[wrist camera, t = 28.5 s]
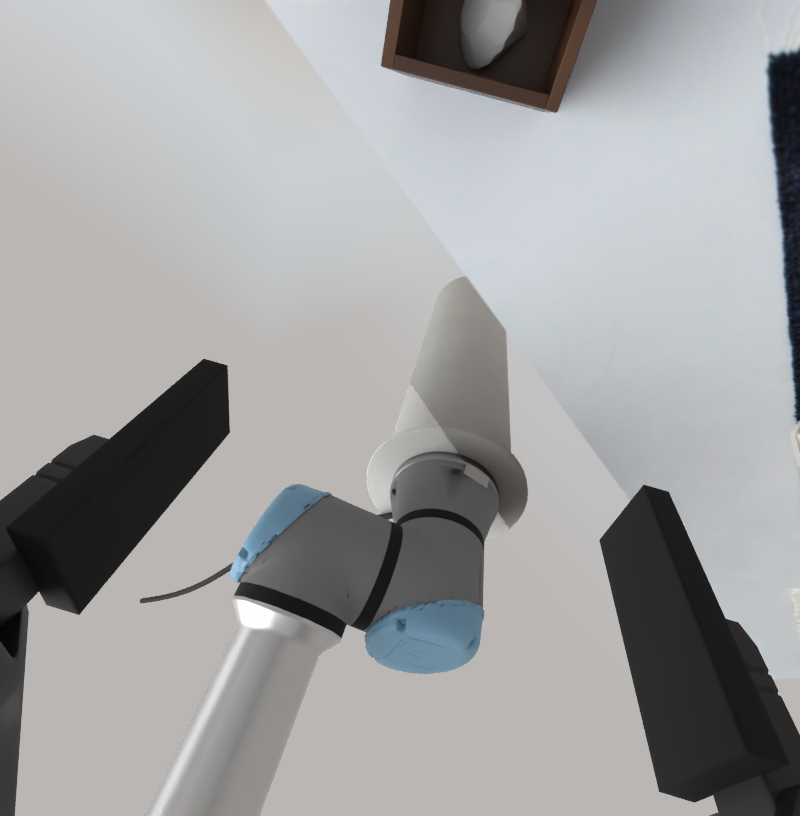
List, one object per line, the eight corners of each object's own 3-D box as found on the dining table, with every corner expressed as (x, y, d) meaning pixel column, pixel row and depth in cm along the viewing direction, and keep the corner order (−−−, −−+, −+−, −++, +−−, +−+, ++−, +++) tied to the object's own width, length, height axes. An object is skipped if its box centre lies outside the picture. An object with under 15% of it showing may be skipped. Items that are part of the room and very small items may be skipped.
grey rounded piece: (544, 82, 30) (492, 59, 28) (488, 87, 35) (439, 67, 32) (577, -34, 28) (522, -72, 25) (511, -13, 32) (459, -44, 30)
